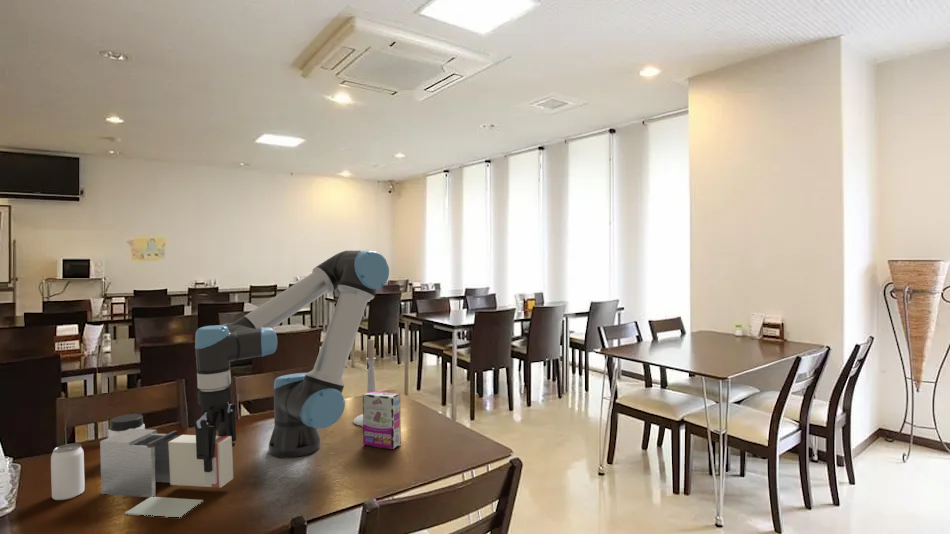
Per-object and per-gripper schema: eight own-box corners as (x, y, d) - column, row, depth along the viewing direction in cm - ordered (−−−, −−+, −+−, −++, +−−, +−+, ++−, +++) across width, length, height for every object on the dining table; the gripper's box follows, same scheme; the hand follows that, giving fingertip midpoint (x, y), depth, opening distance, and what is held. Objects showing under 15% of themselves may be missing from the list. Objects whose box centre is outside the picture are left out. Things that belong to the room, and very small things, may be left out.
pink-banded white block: (233, 478, 133) (231, 436, 133) (221, 487, 128) (219, 443, 128) (184, 475, 135) (182, 434, 135) (170, 484, 130) (168, 441, 130)
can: (63, 489, 132) (62, 443, 132) (90, 488, 133) (89, 442, 133) (45, 501, 126) (43, 453, 126) (73, 500, 126) (72, 452, 126)
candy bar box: (401, 445, 162) (401, 393, 162) (393, 450, 158) (392, 397, 157) (371, 440, 166) (370, 390, 166) (362, 445, 162) (361, 394, 161)
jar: (108, 466, 147) (107, 424, 146) (109, 456, 154) (108, 417, 153) (145, 459, 152) (144, 418, 151) (145, 450, 158) (144, 411, 158)
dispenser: (101, 494, 130) (100, 441, 129) (131, 478, 139) (129, 428, 139) (151, 497, 128) (150, 443, 127) (178, 480, 137) (177, 430, 137)
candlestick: (384, 427, 178) (384, 341, 178) (348, 427, 179) (347, 341, 178) (393, 416, 191) (392, 335, 190) (359, 415, 192) (358, 335, 191)
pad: (203, 501, 126) (203, 499, 126) (180, 518, 118) (180, 516, 118) (150, 498, 127) (150, 496, 127) (124, 514, 120) (124, 512, 120)
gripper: (222, 377, 139) (226, 462, 140) (175, 398, 121) (180, 494, 122) (248, 378, 138) (252, 463, 139) (204, 398, 120) (209, 495, 121)
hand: (218, 477), depth 131 cm, fingers closed on pink-banded white block, 5 cm apart
